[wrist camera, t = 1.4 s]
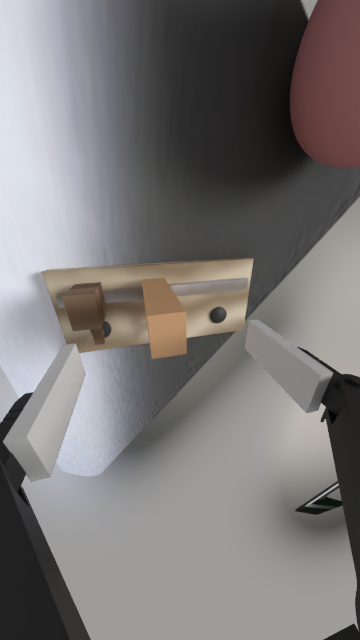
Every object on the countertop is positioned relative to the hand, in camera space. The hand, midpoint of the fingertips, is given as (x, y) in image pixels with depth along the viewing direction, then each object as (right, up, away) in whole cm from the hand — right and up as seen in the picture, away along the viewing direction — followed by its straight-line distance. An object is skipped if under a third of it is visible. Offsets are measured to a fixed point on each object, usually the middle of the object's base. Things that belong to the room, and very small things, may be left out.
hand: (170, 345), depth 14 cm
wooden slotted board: (-2, +5, +14) cm, 15 cm away
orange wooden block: (-3, +4, +12) cm, 13 cm away
